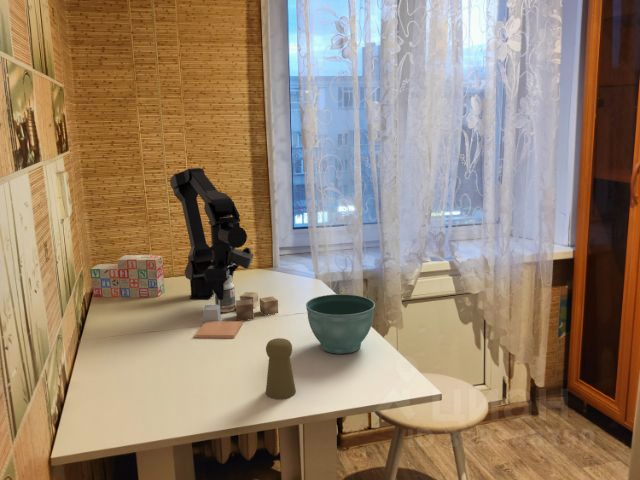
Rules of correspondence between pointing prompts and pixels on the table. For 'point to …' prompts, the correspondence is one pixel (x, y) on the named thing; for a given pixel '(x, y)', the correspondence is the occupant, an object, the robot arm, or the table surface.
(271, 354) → the olive pawn
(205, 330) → the terracotta tile
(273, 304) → the oak block
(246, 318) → the walnut cube
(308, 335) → the table surface
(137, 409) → the table surface
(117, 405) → the table surface
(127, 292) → the stack of blocks
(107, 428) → the table surface
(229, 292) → the pill bottle
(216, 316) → the grey painted block
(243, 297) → the beech block
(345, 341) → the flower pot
